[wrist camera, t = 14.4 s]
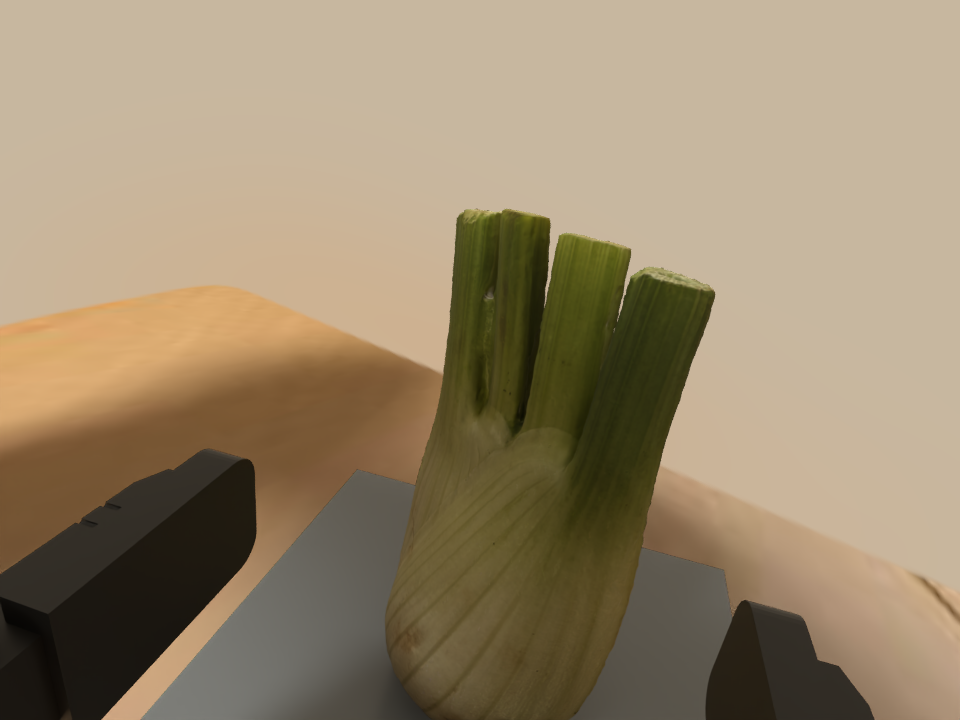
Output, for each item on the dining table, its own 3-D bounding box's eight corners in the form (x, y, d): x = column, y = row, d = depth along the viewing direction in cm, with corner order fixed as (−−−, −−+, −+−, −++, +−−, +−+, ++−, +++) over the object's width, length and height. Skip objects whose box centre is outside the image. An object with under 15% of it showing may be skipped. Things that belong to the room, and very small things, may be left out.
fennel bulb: (606, 776, 13) (774, 269, 9) (392, 815, 12) (453, 245, 7) (529, 585, 18) (608, 202, 14) (373, 599, 17) (401, 182, 12)
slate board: (20, 920, 11) (4, 875, 10) (355, 500, 24) (357, 469, 23) (807, 1315, 8) (846, 1285, 8) (711, 601, 21) (723, 569, 20)
